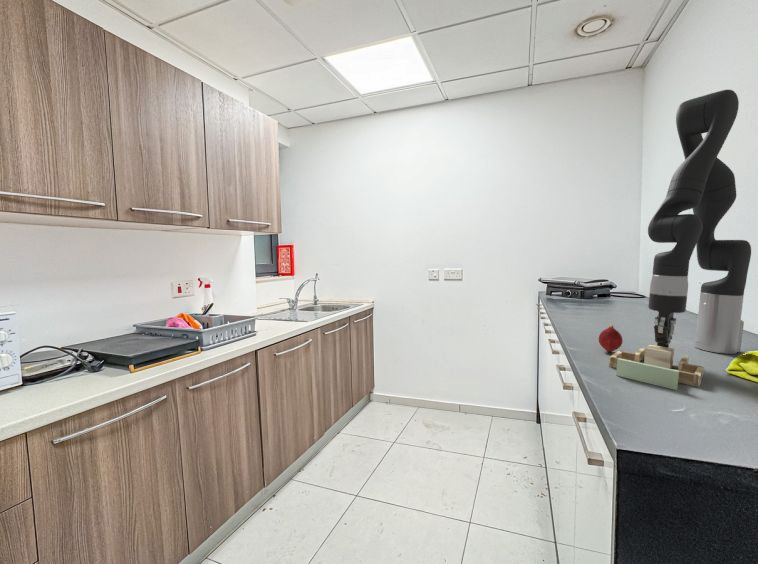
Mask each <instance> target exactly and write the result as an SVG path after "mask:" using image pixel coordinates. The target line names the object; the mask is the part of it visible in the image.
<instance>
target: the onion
mask: <svg viewBox="0 0 758 564" xmlns="http://www.w3.org/2000/svg"><path fill="white" fill-rule="evenodd" d="M598 343H599V346H601V347H602V348H603V349H604V350H605V351H606V352H608V353H612V352H614V351H616V350H618V349H619V348H620V347H621V346H622V344H623V336H622V335H621V333H620V332H619V331H618V330H617V329H616V328H615V327H614V325H612V324H610V325H609V326H608V327H607V328H606V329H603V330H602V331H601V332H600V334H599V335H598Z"/></svg>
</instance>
